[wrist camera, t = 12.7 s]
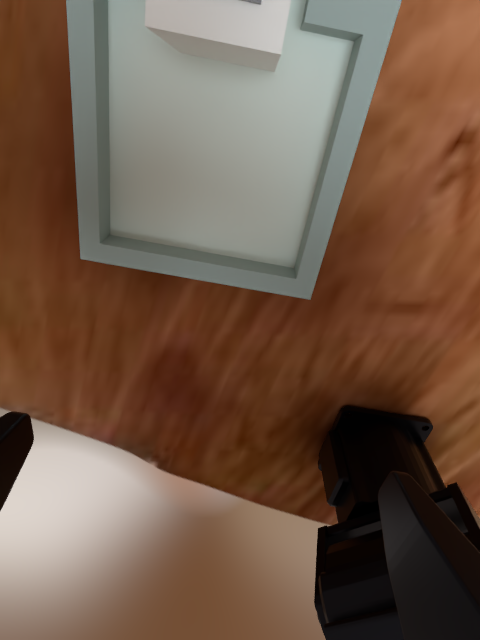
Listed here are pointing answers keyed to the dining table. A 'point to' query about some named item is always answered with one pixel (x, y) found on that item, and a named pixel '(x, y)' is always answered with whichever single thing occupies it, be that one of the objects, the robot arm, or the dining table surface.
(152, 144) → the keyhole tray
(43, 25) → the dining table surface
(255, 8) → the socket block
